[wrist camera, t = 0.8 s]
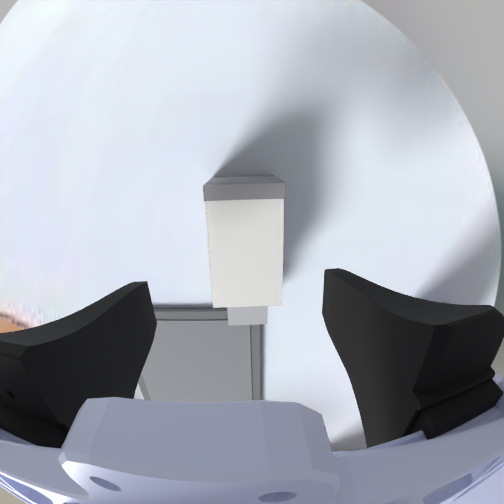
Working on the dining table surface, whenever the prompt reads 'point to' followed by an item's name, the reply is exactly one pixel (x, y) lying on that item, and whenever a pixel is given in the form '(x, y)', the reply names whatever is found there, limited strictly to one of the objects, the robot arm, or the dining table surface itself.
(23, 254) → the dining table surface
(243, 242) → the plug
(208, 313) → the mat
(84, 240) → the dining table surface
